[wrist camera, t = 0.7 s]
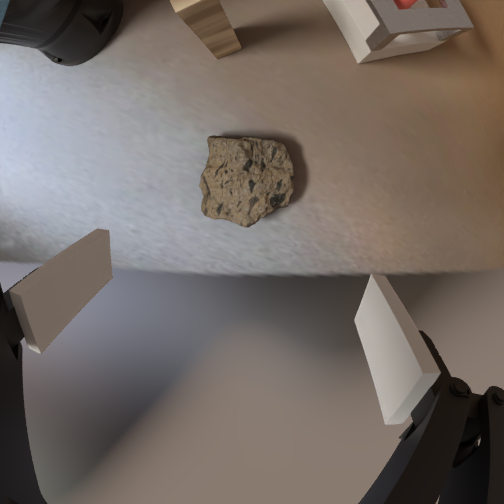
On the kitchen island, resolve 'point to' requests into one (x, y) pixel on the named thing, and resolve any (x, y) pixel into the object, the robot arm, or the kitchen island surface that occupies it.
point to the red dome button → (404, 3)
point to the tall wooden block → (208, 24)
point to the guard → (416, 21)
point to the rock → (245, 179)
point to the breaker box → (364, 23)
